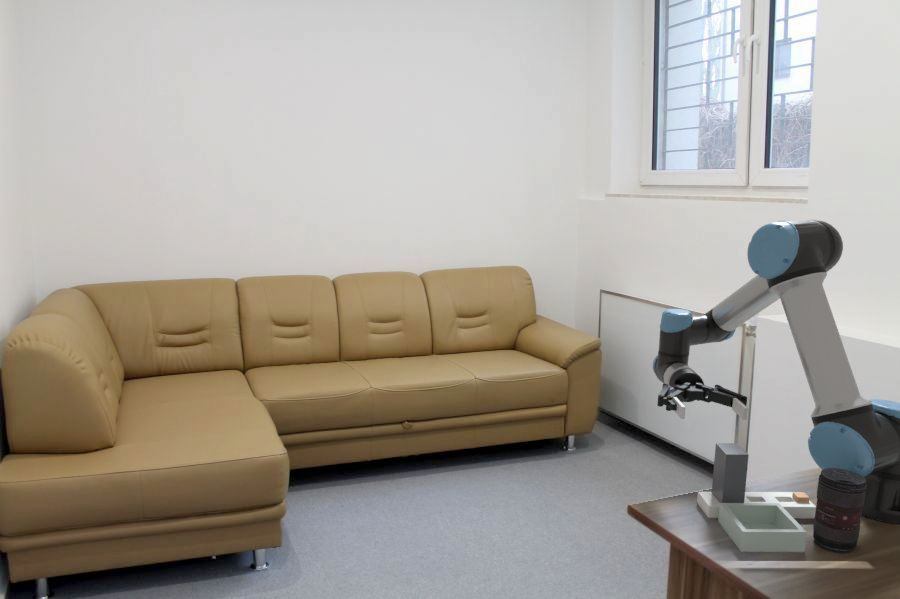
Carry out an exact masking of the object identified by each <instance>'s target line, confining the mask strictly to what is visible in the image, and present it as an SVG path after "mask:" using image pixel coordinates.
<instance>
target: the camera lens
mask: <svg viewBox="0 0 900 599" xmlns="http://www.w3.org/2000/svg"><path fill="white" fill-rule="evenodd" d="M866 487H867V486H866V479H865V478H864V477H863V476H861V475H860V474H858V473H855V472H852V471H849V470H844V469H839V468H826V469H823V470H822V469H821V471H820V474H819V475H818V480H817V489H816V499H817V500H816V505H815V506H816V512H815V517H814V519H813V526H812V527H813V528H812V530H813V532H812V535H813V536H812V537H813V540H814V542H815V543H816V545H817V546H818V547H820V548H822V549H823V550H826V551H830V552H833V553H837V554H849V553H851V552H854V549H856V547H857V546H858V545H857V544H858V541H859V538H860V532H861V523H862V522H861V520H862V514H861V513H862V508H863V506H864V501H865V494H866Z"/></svg>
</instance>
